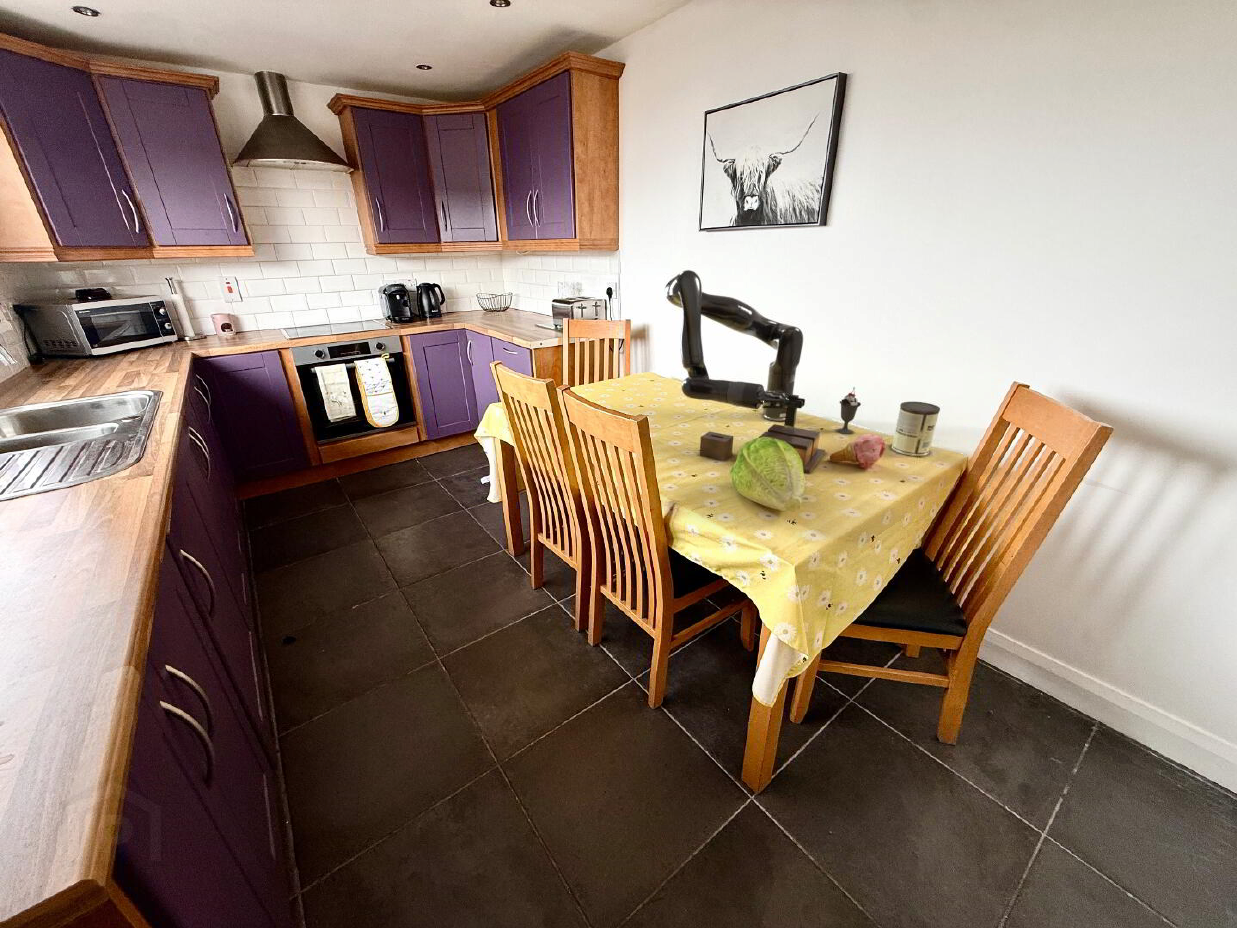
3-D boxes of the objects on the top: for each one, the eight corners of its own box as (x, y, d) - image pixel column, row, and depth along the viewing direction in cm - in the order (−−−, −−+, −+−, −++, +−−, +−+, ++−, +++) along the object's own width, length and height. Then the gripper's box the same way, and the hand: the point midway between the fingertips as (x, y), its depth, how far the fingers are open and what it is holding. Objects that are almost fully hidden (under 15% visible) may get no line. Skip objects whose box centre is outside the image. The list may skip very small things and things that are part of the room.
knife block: (699, 455, 152) (700, 437, 150) (707, 449, 156) (709, 431, 154) (724, 461, 148) (725, 442, 145) (732, 454, 152) (733, 436, 150)
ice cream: (828, 465, 140) (886, 451, 133) (822, 438, 145) (878, 422, 138) (838, 484, 147) (893, 471, 140) (832, 457, 153) (885, 443, 146)
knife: (780, 450, 150) (787, 395, 143) (781, 448, 151) (789, 394, 145) (790, 452, 149) (798, 396, 142) (791, 450, 150) (799, 395, 143)
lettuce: (747, 528, 114) (766, 475, 107) (720, 472, 135) (734, 425, 128) (816, 534, 116) (839, 482, 109) (779, 478, 137) (796, 432, 130)
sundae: (851, 428, 173) (859, 386, 167) (858, 435, 167) (866, 391, 161) (831, 428, 173) (838, 385, 167) (837, 434, 167) (845, 391, 161)
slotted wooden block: (747, 459, 148) (749, 437, 146) (767, 441, 162) (769, 421, 159) (809, 473, 139) (812, 450, 136) (825, 453, 153) (828, 431, 150)
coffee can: (896, 441, 161) (906, 399, 155) (932, 449, 154) (944, 405, 149) (886, 450, 154) (896, 406, 148) (923, 459, 148) (935, 413, 142)
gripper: (737, 387, 145) (798, 396, 136) (754, 378, 155) (811, 385, 146) (735, 412, 148) (794, 422, 139) (752, 401, 158) (808, 410, 149)
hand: (803, 403), depth 142 cm, fingers closed on knife, 1 cm apart
